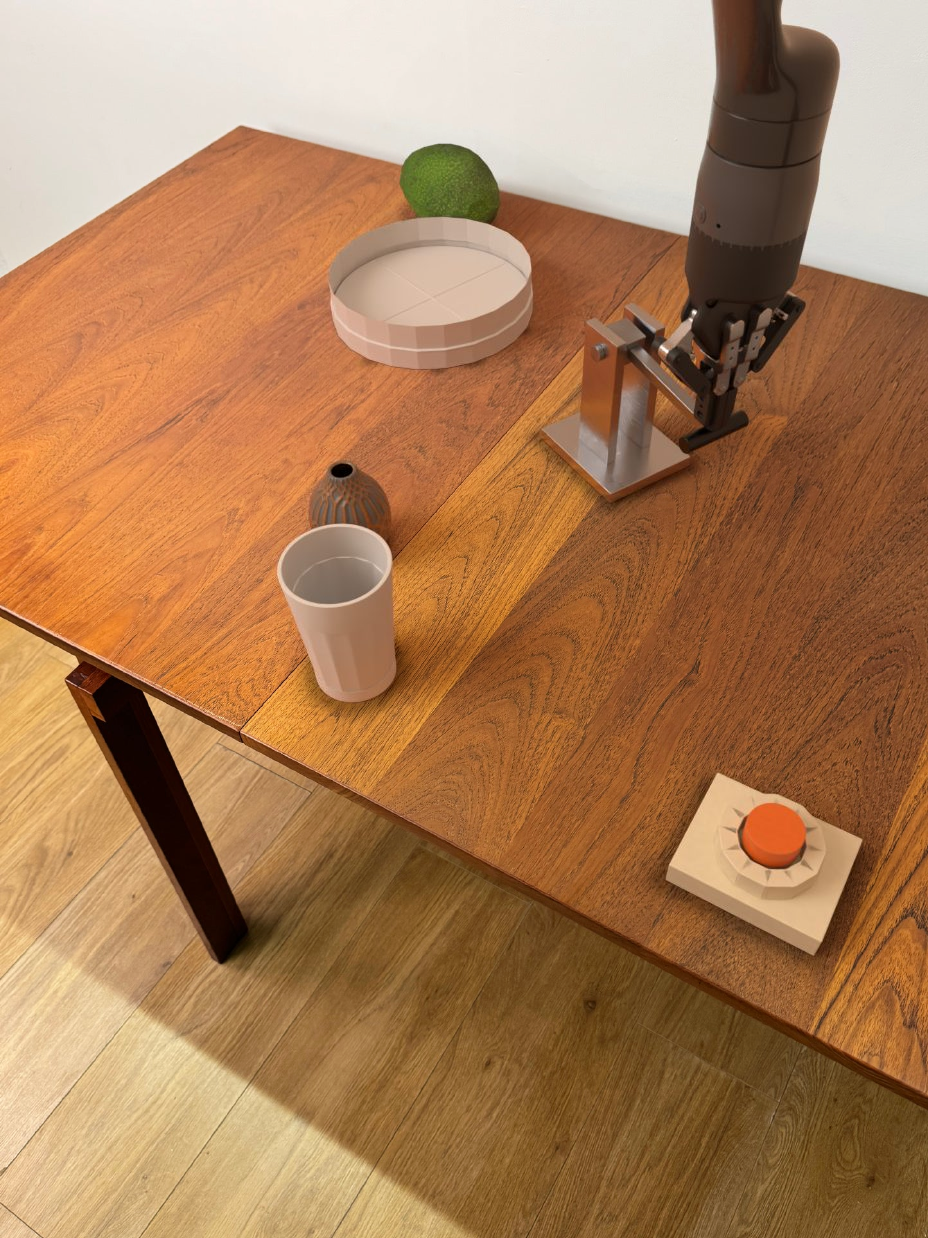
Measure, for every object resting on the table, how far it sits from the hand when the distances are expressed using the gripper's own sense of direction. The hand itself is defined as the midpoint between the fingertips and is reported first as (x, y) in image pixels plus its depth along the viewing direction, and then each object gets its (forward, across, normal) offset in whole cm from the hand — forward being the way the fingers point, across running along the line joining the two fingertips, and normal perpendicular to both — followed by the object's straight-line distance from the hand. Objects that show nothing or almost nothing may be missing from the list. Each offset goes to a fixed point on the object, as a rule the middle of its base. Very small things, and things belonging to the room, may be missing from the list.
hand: (711, 422), depth 78 cm
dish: (+11, -2, +42) cm, 44 cm away
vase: (+11, -26, +14) cm, 32 cm away
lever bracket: (+11, 0, +12) cm, 16 cm away
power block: (+11, -17, -28) cm, 34 cm away
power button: (+7, -17, -27) cm, 33 cm away
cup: (+11, -32, +2) cm, 34 cm away
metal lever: (+1, 0, +6) cm, 6 cm away
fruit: (+11, +9, +56) cm, 58 cm away
